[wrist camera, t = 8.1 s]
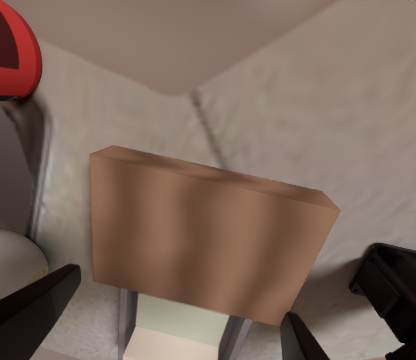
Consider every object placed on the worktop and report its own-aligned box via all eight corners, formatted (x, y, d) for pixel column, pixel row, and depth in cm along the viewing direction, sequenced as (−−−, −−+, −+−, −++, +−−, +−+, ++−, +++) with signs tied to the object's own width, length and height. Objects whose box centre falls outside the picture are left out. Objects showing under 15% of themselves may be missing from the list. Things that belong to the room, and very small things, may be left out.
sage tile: (229, 295, 24) (229, 315, 22) (219, 324, 26) (218, 346, 24) (147, 274, 24) (138, 293, 22) (144, 305, 26) (135, 325, 24)
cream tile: (216, 380, 21) (211, 392, 22) (219, 325, 26) (215, 337, 27) (123, 355, 21) (122, 368, 22) (144, 306, 26) (143, 318, 27)
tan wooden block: (322, 191, 19) (340, 210, 16) (274, 296, 24) (281, 327, 21) (113, 145, 20) (89, 154, 16) (111, 257, 25) (93, 281, 22)
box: (251, 292, 24) (254, 317, 21) (224, 362, 30) (223, 389, 27) (133, 263, 25) (120, 284, 22) (128, 337, 30) (117, 361, 28)
